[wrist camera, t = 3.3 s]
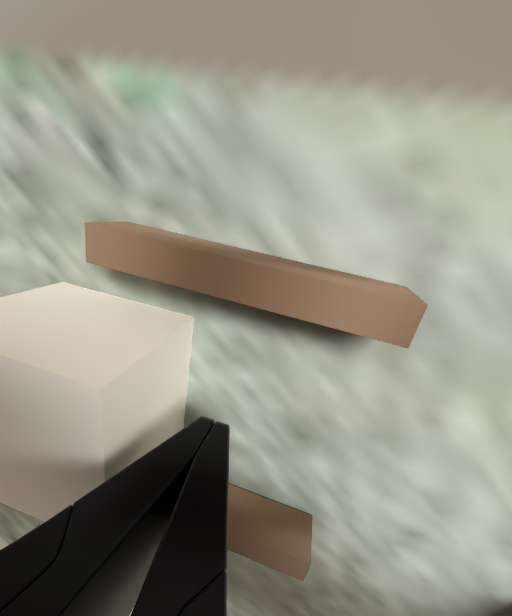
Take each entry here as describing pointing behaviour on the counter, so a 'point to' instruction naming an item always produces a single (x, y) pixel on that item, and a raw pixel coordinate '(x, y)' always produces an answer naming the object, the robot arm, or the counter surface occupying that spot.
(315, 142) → the counter surface
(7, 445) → the block
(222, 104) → the counter surface
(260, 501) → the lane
